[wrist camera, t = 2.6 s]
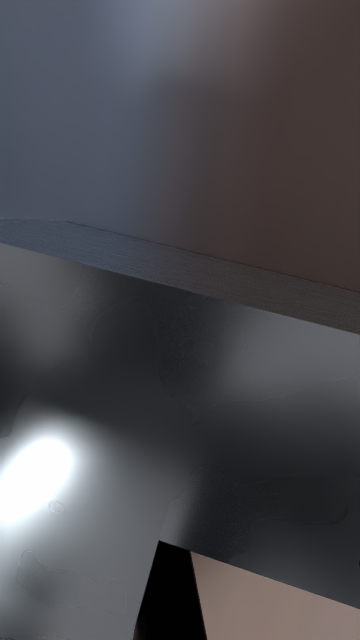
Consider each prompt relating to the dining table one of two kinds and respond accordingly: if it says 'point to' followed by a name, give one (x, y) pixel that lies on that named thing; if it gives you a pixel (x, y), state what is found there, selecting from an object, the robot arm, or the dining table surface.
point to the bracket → (166, 425)
